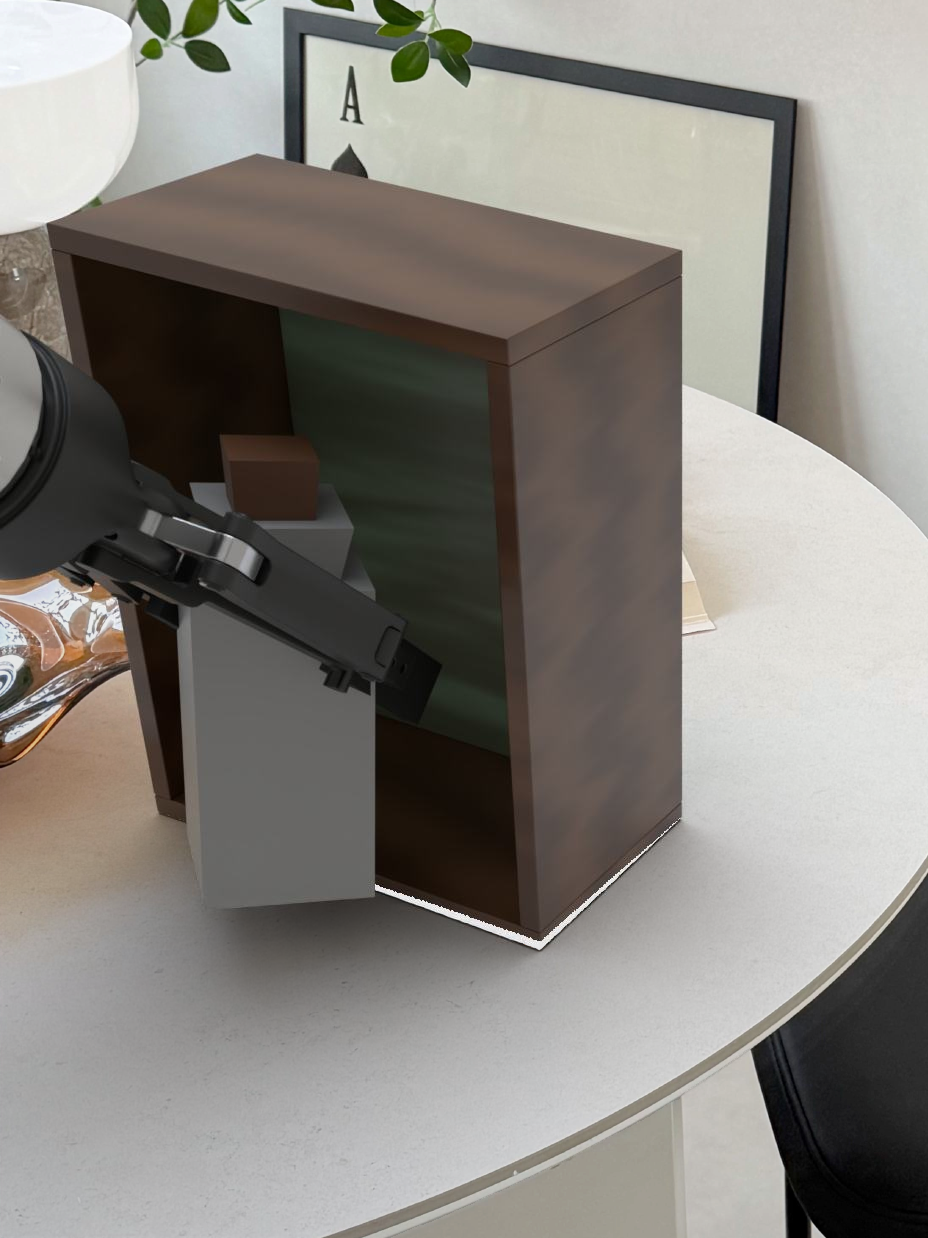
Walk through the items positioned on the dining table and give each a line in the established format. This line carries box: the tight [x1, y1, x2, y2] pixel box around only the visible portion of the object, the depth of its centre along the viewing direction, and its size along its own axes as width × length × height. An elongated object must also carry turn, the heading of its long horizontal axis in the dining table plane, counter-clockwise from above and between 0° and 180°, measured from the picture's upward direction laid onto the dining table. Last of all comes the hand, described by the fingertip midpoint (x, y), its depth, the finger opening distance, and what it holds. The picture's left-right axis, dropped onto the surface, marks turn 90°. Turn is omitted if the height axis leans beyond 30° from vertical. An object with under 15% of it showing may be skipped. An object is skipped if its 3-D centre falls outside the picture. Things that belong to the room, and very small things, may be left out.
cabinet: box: [45, 153, 683, 941], centre depth 84 cm, size 12×21×27 cm, turn 65°
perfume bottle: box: [176, 435, 376, 911], centre depth 78 cm, size 7×7×18 cm
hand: (338, 664), depth 82 cm, fingers closed on perfume bottle, 8 cm apart
